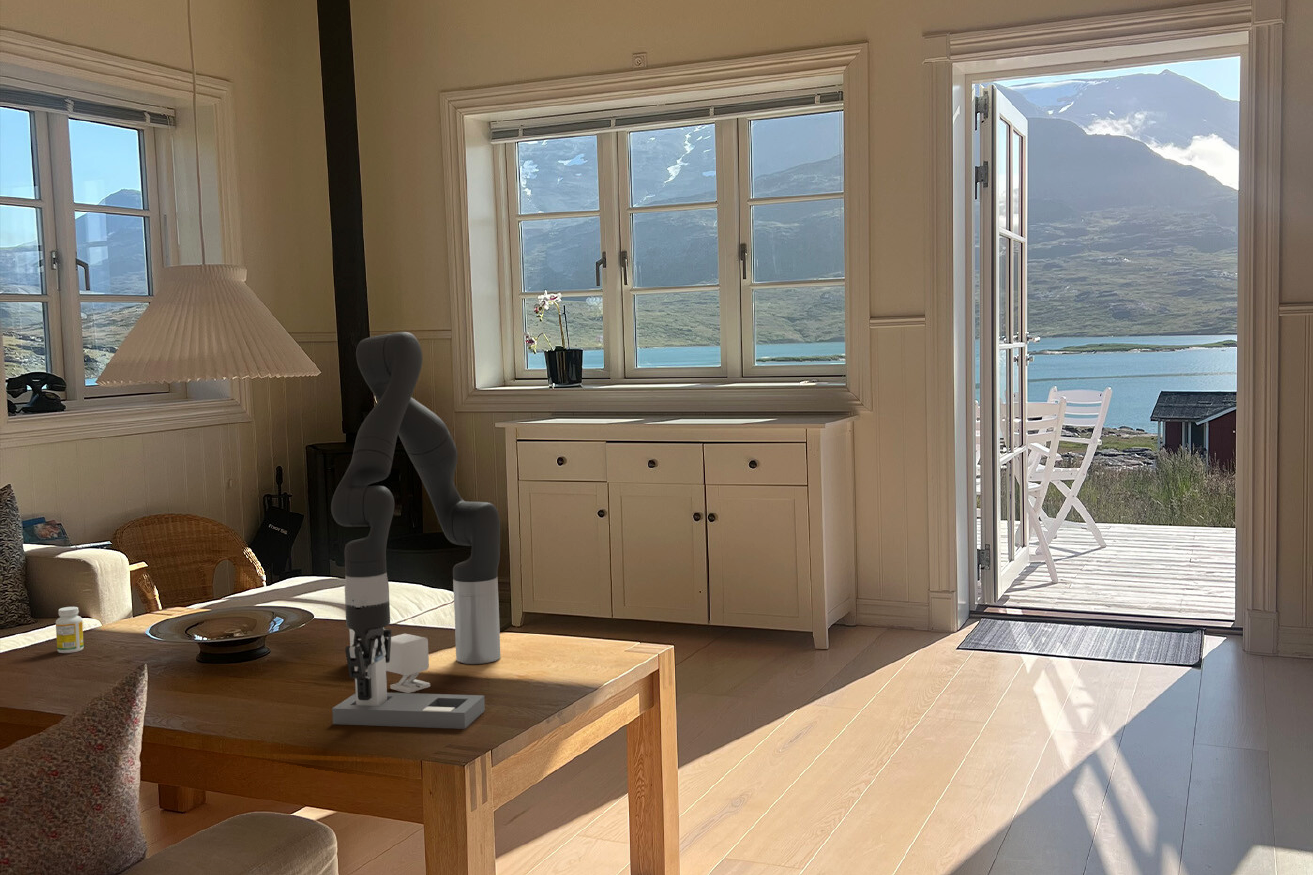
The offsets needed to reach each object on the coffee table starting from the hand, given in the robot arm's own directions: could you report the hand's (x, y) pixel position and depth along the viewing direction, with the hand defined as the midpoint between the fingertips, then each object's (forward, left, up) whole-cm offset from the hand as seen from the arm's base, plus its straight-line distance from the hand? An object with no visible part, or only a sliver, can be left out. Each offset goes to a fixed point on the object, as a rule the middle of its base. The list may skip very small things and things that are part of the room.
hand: (371, 694), depth 202 cm
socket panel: (0, +7, -4) cm, 8 cm away
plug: (0, 0, -4) cm, 4 cm away
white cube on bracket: (-18, -1, -5) cm, 19 cm away
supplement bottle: (-40, -91, -5) cm, 100 cm away
